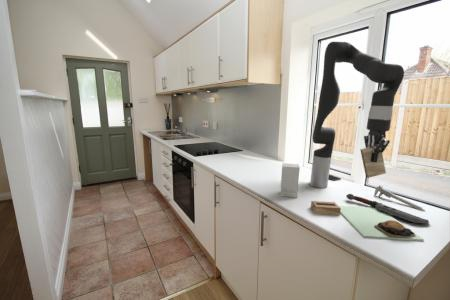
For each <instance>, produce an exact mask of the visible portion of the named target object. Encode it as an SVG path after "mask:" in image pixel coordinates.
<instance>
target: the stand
mask: <svg viewBox="0 0 450 300" xmlns="http://www.w3.org/2000/svg"><path fill="white" fill-rule="evenodd" d="M339 206H340V205H338V204H337V203H336V202H335V201H322V200H321V201H319V200H317V201H316V200H311V203H310V208H311V209H312V211H313V212H314V214H317V215H319V214H320V215H333V216H340V215H341V213H340V210H341V208H340V207H339Z"/></svg>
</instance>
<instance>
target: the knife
mask: <svg viewBox="0 0 450 300" xmlns="http://www.w3.org/2000/svg"><path fill="white" fill-rule="evenodd" d="M345 198H347V199H348V200H350V201H352V200H354V201H355V202H356V201H357V202H358V203H362V204H365V205H368V206H369V207H371V208H377V209H378V210H379V211H382V212H385V213H387V214H389V215H390V216H392V217H394V218H395V217H396V218H398V219H402V220H404V221H407V222H410V223H415V224H417V223H419V224H428V223H430V221H429V219H425V218H423V217H420V216H416V215H414V214H411V213H408V212H406V211H402V210H400V209H397V208H394V207H392V206H389V205H386V204H383V203H382V202H378V201H376V200H370V199H368V198H364V197H361V196H357V195H354V194H352V193H348V194H346V197H345Z"/></svg>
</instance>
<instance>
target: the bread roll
mask: <svg viewBox="0 0 450 300" xmlns="http://www.w3.org/2000/svg"><path fill="white" fill-rule="evenodd" d="M399 222H400V221H399ZM399 222H396V221H393V220H388V221H385V222H380V223H378V225H375V226H374V227H376V228H377V229H379V230H381V231H382V232H383V233H385V234H387V235H388V236H390V237H394V238H397V237H401V238H402V237H414V236H415V234H414V233H415V232H414V231H413V230H412V229H410V228H409V229H407V228H408V227H407V228H405V227H404V226H405V225H404V224H403V223H402V224H403V225H404V226H403V225H402V224H400V223H401V222H400V223H399ZM412 231H413V232H414V233H413V232H412Z"/></svg>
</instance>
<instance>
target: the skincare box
mask: <svg viewBox="0 0 450 300" xmlns="http://www.w3.org/2000/svg"><path fill="white" fill-rule="evenodd" d="M281 166H282V167H281V178H280V179H281V180H280V196H281V197H288V198H295V199H297V198H298V193H299V190H298V189H299V180H300V179H299V177H300V169H301V168H300V165H299V163H298V164H297V163H285V162H282V165H281Z"/></svg>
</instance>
